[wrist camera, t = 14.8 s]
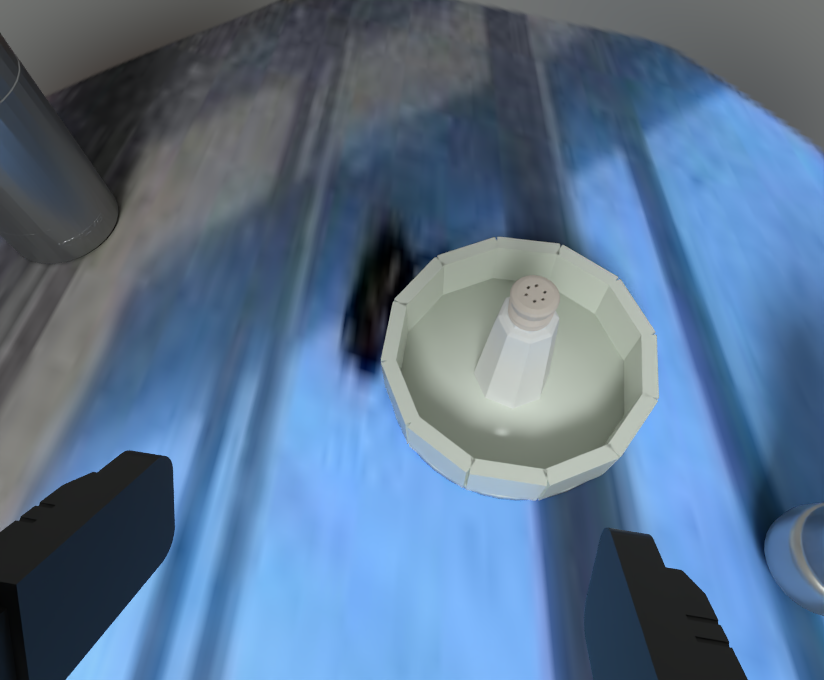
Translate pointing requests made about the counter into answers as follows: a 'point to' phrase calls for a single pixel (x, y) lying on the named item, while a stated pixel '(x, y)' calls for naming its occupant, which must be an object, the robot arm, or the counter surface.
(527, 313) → the salt shaker
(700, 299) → the counter surface
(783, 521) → the plastic bottle
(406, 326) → the bowl
